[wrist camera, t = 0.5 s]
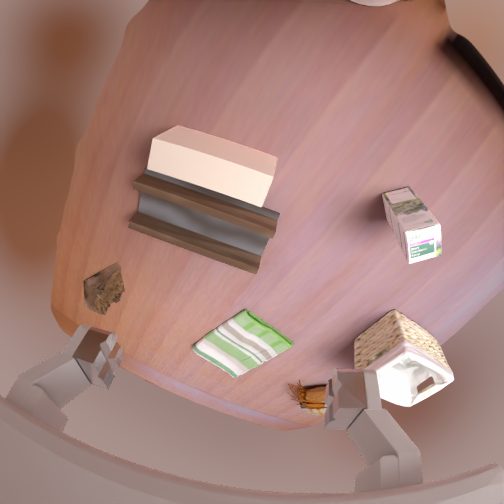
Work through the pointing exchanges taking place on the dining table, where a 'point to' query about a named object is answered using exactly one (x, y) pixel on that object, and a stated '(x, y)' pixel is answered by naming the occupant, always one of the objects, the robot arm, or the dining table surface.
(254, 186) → the white rectangular block
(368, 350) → the storage basket
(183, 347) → the dining table surface
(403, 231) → the syrup box
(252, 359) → the dish towel
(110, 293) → the wooden fragment
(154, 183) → the slot rack
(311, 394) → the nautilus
